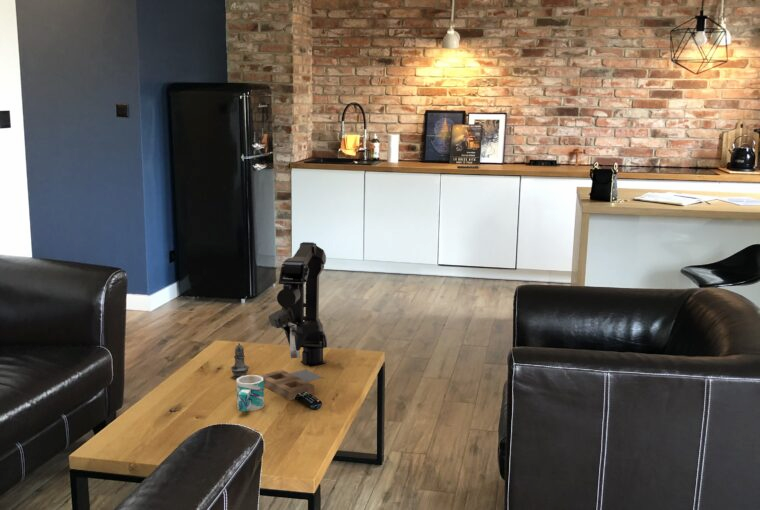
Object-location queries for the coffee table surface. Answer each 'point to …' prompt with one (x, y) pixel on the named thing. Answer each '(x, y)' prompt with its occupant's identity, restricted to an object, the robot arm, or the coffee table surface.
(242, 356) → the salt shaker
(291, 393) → the socket block
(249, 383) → the mug
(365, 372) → the coffee table surface
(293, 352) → the pin
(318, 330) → the robot arm
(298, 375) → the mat
